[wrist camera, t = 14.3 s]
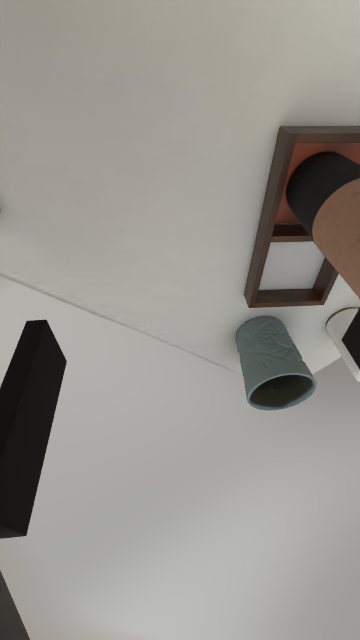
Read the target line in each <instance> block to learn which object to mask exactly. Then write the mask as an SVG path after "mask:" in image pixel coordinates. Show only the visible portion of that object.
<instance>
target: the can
mask: <svg viewBox="0 0 360 640" xmlns="http://www.w3.org/2000/svg"><path fill="white" fill-rule="evenodd" d="M358 310H359V309H355V308H350V309H345V310H342V311H339V312H338V313H336V314H334V315H333V316H332V317H331V318H330V319H329V321H328V323H327V326H326V330H327V332H328V334H329V335H330V337H331V339H332V340H333V342H334V344H335V346H336V347H337V349H338V351H339V352H340V354H341V356H342V357H343V359H344V361H345V362H346V364H347V365H348V367H349V369H350V371H351V372H352V374H353V375H354V377H355V378H356V379H357V381H359V382H360V370H359V368H358V366H357V365H356V363H355V361H354V360H353V358H352V357H351V355H350V353H349V352H348V350H347V348H346V347H345V345H344V344H343V342H342V340H341V339H342V338H343V336H344V334H345V332H346V331H347V329H348V327H349V325H350V324H351V322H352V320H353V318H354V317H355V315H356V313H357V311H358Z"/></svg>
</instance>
